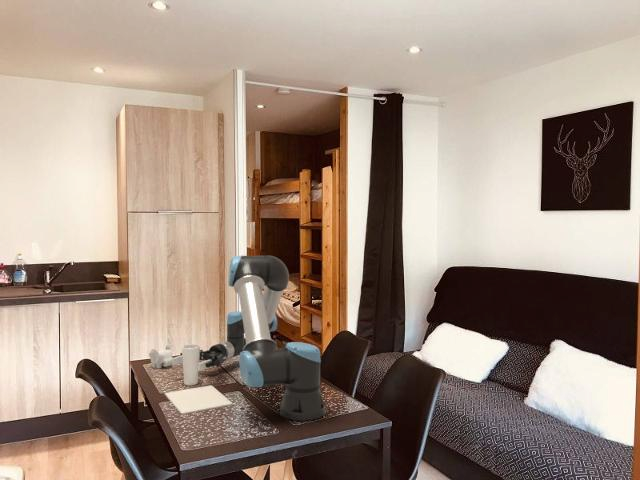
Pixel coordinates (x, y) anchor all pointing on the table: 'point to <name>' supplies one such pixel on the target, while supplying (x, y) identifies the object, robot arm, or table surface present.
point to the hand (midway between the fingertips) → (185, 364)
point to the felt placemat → (197, 399)
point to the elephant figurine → (161, 357)
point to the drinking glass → (190, 363)
